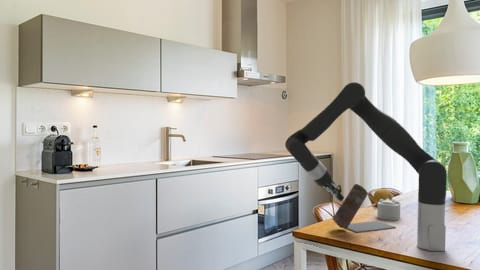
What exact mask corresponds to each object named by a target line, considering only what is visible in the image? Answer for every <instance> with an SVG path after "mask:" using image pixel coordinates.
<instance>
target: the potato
mask: <svg viewBox="0 0 480 270" xmlns="http://www.w3.org/2000/svg"><path fill="white" fill-rule="evenodd" d="M372 196H373V197H372V199H373V202H374V204H375V205H376V206H377V207H378V202H379V200H380V199H383V200H384V201H385V200H386V199H389V200H390V201H391V200H392V199H393V194H392V192H391V191H390V190H389V189H386V188H378V189H376V190H375V191H374V193H373V195H372Z"/></svg>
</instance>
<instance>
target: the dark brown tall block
mask: <svg viewBox="0 0 480 270" xmlns="http://www.w3.org/2000/svg"><path fill="white" fill-rule="evenodd" d="M368 195H369V192H368V191H367V189H366V188H364V187H363V186H362V185H360V184H358V183H356V184H355V183H354V184H353V186H352V188H351V189H350V191H349V192H348V194H347V195H346V197H345V198H344V199H343V201H342V204H341V205H340V206H339V208H338V209H337V211H336V213H335V214H334V215H333V217H332V220H333V222H334V223H335V224H336V225H337V226H338V227H339V228H341V229H344V230H348V229H347V228H348V226H349V225H350V224H352V222H353V220H354V218H355V216H356V215H357V213H358V211H359V210H360V208H361V206H362V205H363V203H364V202H365V200H366V198H367V196H368Z"/></svg>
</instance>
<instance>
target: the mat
mask: <svg viewBox="0 0 480 270" xmlns="http://www.w3.org/2000/svg"><path fill="white" fill-rule="evenodd" d="M391 229H397V227H396V226H395V225H391V224H388V223H385V222H382V221H378V220H372V221H362V222H355V223H352V222H351V223H350V225H349V226H348V228H347V229H346V230H348V231H350V232H354V233H365V232H366V233H367V232H373V231H374V232H375V231H382V230H391Z"/></svg>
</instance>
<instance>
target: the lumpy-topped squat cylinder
mask: <svg viewBox="0 0 480 270" xmlns="http://www.w3.org/2000/svg"><path fill="white" fill-rule="evenodd" d="M376 214H377V215H376V216H377V218H379V219H382V220H383V219H385V220H391V221H398V220H399V219H400V218H401V202H400V201H399V200H396V199H393V198H392V200H391V201H390V200H389V199H386V200H385V201H384V200H383V199H380V200H379V202H378V206H377V212H376Z"/></svg>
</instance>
